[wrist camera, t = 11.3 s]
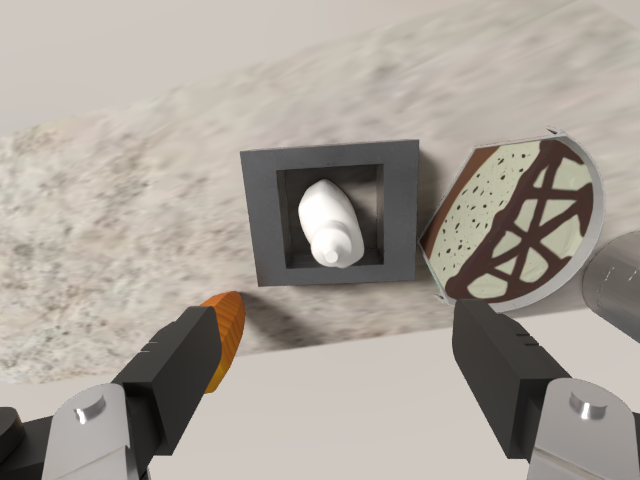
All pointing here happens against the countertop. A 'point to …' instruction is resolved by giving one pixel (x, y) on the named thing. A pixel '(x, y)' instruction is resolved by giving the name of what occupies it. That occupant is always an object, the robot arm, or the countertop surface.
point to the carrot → (227, 330)
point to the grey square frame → (392, 212)
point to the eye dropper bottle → (330, 225)
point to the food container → (515, 222)
